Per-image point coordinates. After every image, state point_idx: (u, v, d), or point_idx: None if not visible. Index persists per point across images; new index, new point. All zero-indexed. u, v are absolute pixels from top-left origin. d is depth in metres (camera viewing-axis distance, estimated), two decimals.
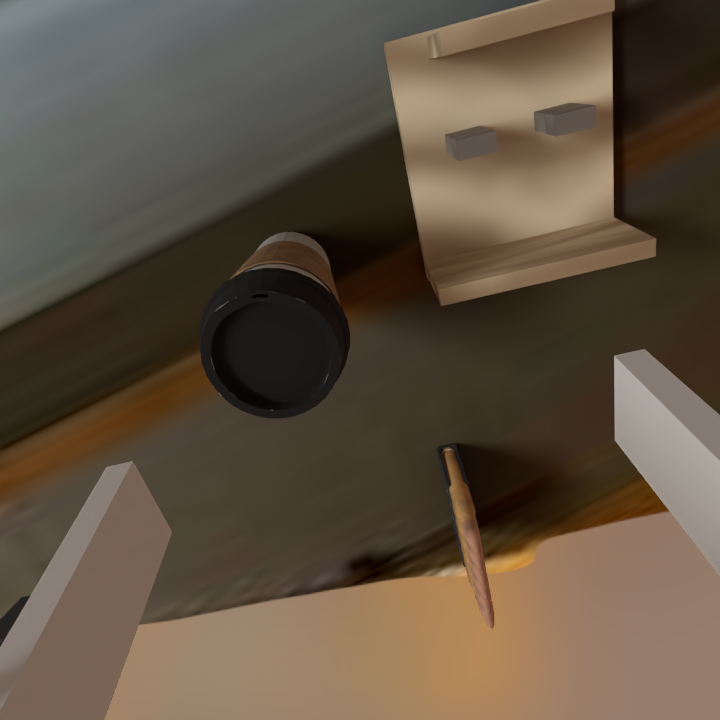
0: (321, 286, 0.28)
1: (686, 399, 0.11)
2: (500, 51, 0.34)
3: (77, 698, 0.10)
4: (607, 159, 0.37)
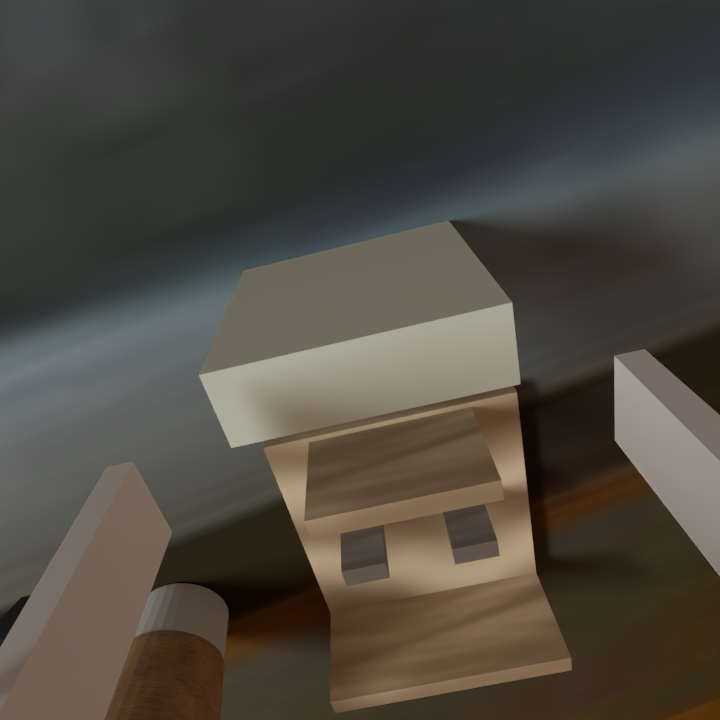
0: None
1: (686, 399, 0.11)
2: None
3: (77, 698, 0.10)
4: (525, 529, 0.33)
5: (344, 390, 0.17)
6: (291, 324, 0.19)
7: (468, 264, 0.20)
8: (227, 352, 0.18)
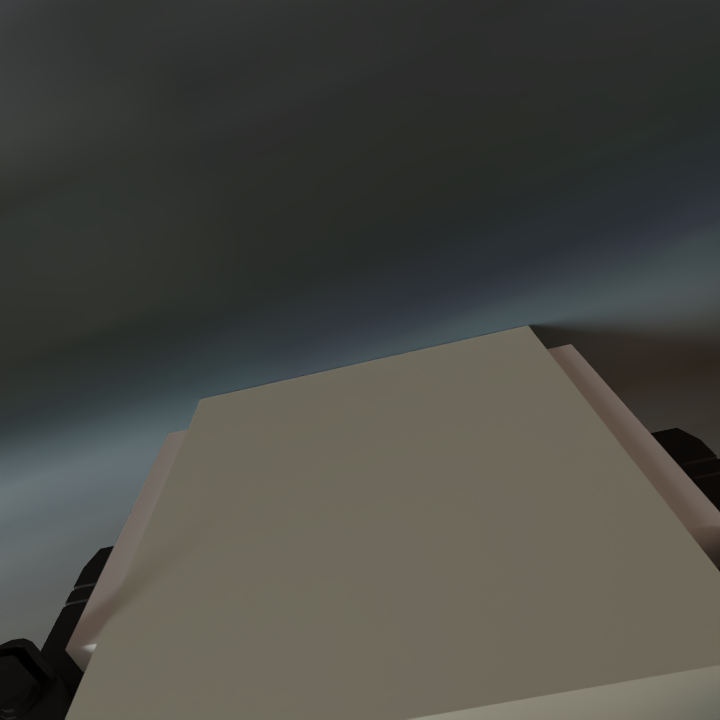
0: None
1: (597, 389, 0.12)
2: None
3: None
4: None
5: None
6: (258, 601, 0.09)
7: (606, 460, 0.10)
8: (118, 686, 0.08)
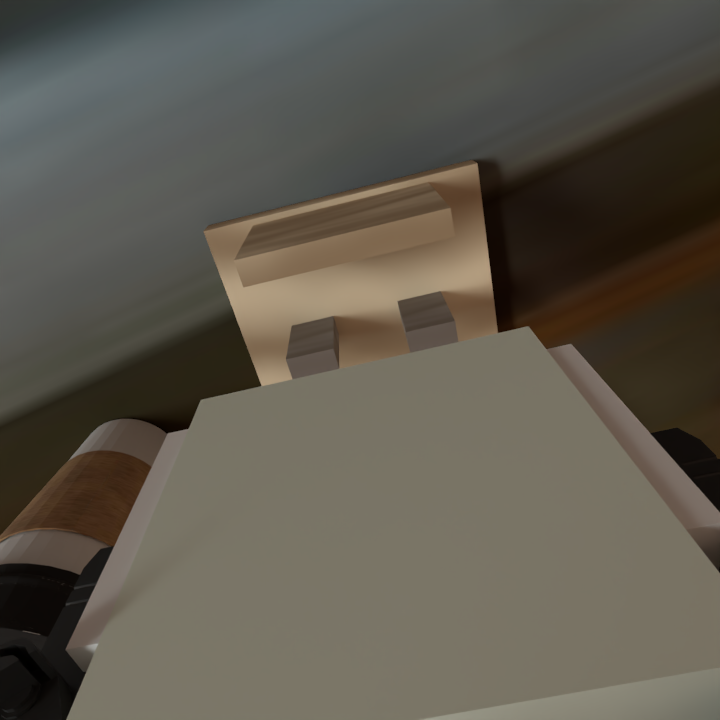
0: None
1: (597, 389, 0.12)
2: None
3: None
4: None
5: None
6: (258, 603, 0.09)
7: (606, 462, 0.10)
8: (119, 688, 0.08)
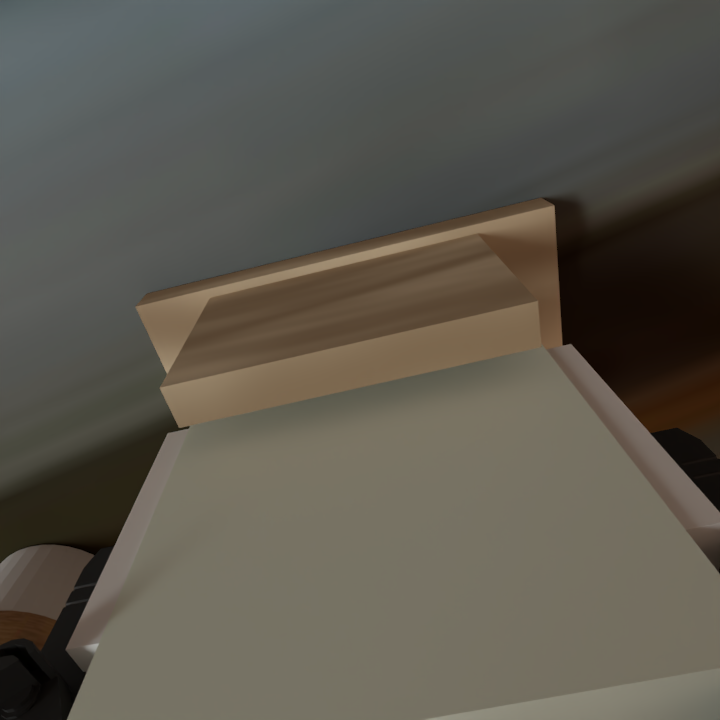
0: None
1: (597, 389, 0.12)
2: None
3: None
4: None
5: None
6: (258, 604, 0.09)
7: (606, 462, 0.10)
8: (119, 689, 0.08)
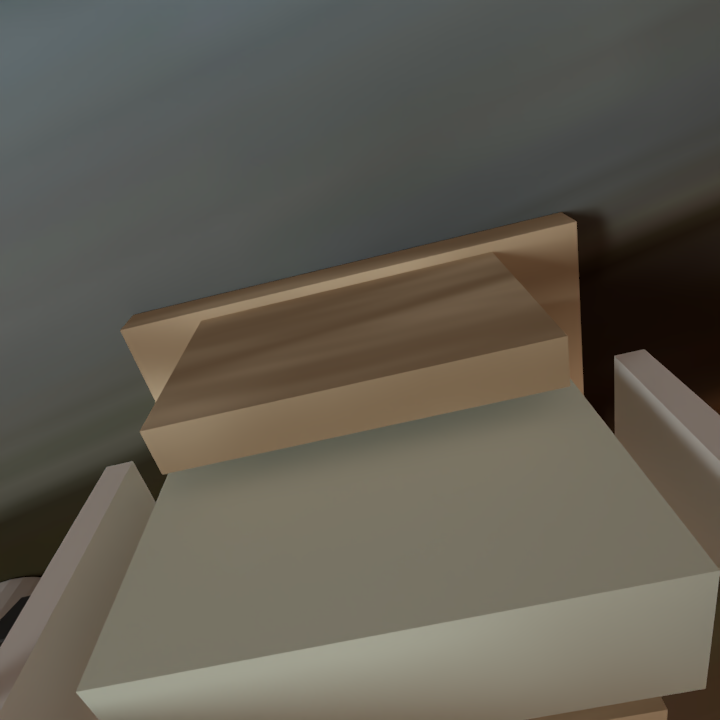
0: None
1: (686, 399, 0.11)
2: None
3: (77, 698, 0.10)
4: None
5: (365, 706, 0.09)
6: (265, 544, 0.10)
7: (579, 422, 0.11)
8: (143, 616, 0.09)
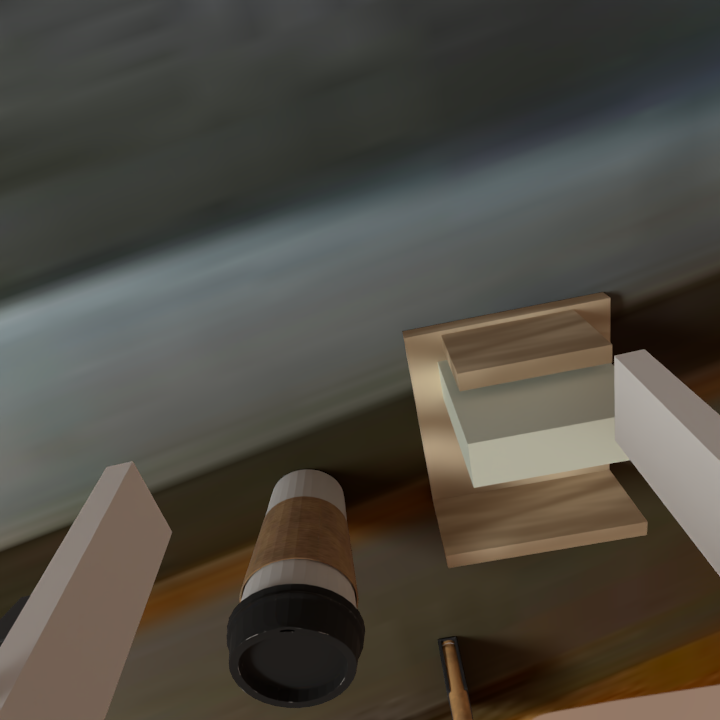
0: (341, 598, 0.31)
1: (686, 399, 0.11)
2: None
3: (77, 698, 0.10)
4: None
5: (550, 456, 0.29)
6: (509, 411, 0.30)
7: None
8: (476, 429, 0.29)
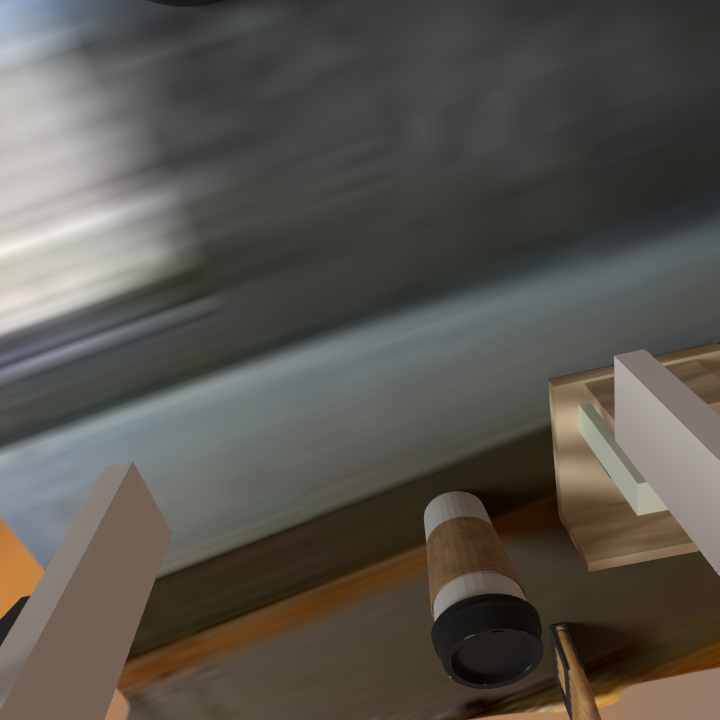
0: (526, 603, 0.39)
1: (686, 399, 0.11)
2: None
3: (77, 698, 0.10)
4: None
5: None
6: None
7: None
8: None
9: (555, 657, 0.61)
